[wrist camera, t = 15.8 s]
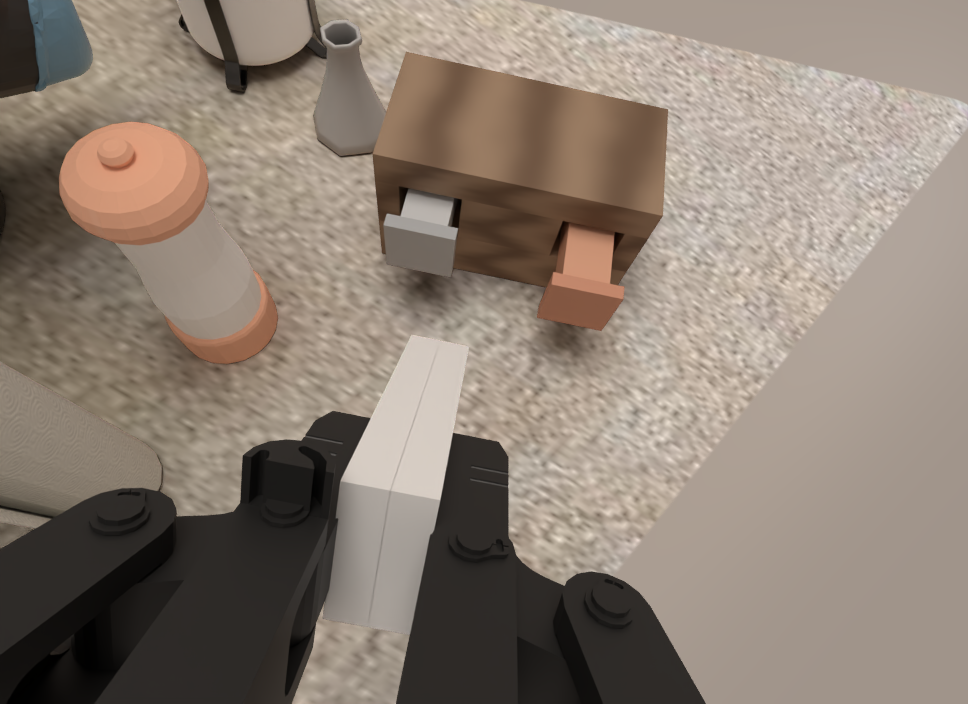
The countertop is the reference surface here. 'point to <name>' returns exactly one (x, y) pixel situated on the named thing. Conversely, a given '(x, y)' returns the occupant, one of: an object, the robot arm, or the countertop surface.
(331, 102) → the flask
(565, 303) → the plug terracotta
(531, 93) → the block
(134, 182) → the salt shaker
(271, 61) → the coffee press
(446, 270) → the plug grey
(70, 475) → the paper towel roll
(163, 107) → the countertop surface
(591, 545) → the countertop surface
